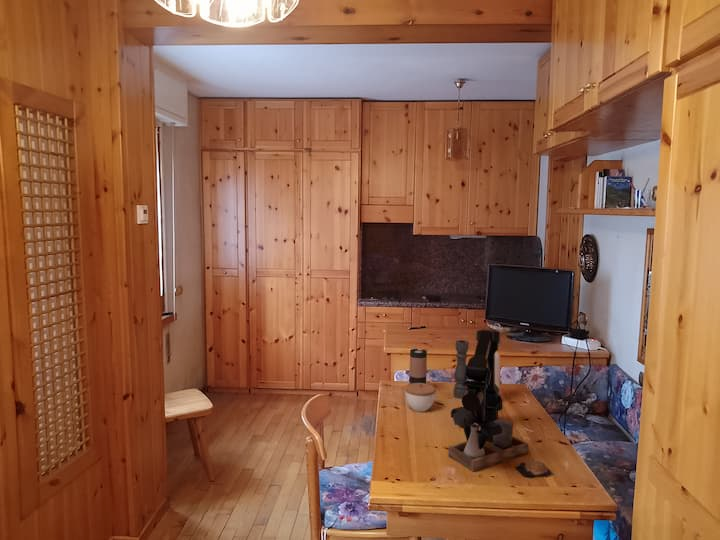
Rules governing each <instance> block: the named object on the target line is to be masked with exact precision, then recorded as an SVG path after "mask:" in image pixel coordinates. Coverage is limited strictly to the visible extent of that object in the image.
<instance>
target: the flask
mask: <svg viewBox="0 0 720 540" xmlns="http://www.w3.org/2000/svg"><path fill="white" fill-rule="evenodd" d="M470 427H471V433H470V437H469V440H468V442H467V445H466V447H465V449H464V452H463V453H464V454H466V455H467V456H469V457H471V458H474V459H476V458H479V457H483V456H485V452H484V449H483V448H482V449H479V435H478V434H477V432H476V431H478V430H480V427H481V426H479V425H476V424H472V425H471V426H470Z"/></svg>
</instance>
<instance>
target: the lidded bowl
mask: <svg viewBox="0 0 720 540" xmlns="http://www.w3.org/2000/svg"><path fill="white" fill-rule="evenodd" d="M404 389H405V390H404V392H405V400H406V403H407V405H408V406H409V408H410V409H411V410H412V411H414V412H418V413H419V412H420V413H425V412H428V411H429V410H430V408H432V406H433V405H434V403H435V398H436V386H434V385H432V384H429V383H427V382H426V383H412V384H410V383H408V384H407V385H406V386H405V388H404Z"/></svg>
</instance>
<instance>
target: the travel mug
mask: <svg viewBox="0 0 720 540" xmlns="http://www.w3.org/2000/svg"><path fill="white" fill-rule="evenodd" d="M409 353H410V354H409V384H412V383H426V384H427V363H428V361H427V360H428V357H427V356H428V355H427V353H428V351H427V350H426V349H425V348H424V349H418V348H412V349H410V351H409Z"/></svg>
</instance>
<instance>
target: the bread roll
mask: <svg viewBox="0 0 720 540" xmlns="http://www.w3.org/2000/svg"><path fill="white" fill-rule="evenodd" d="M514 467H515V468H514V469H515V470H516V471H517V472H518V473H519V474H520V476H522V477H524V478H527V479H538V478H545V477H550V476H554V475H555V472H554V471H552V470H551V469H550V468H548V466H546V464H545V463H543V462H542V461H540V460H531V461H527V462H520V463H519V465H518V466H514Z"/></svg>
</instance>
